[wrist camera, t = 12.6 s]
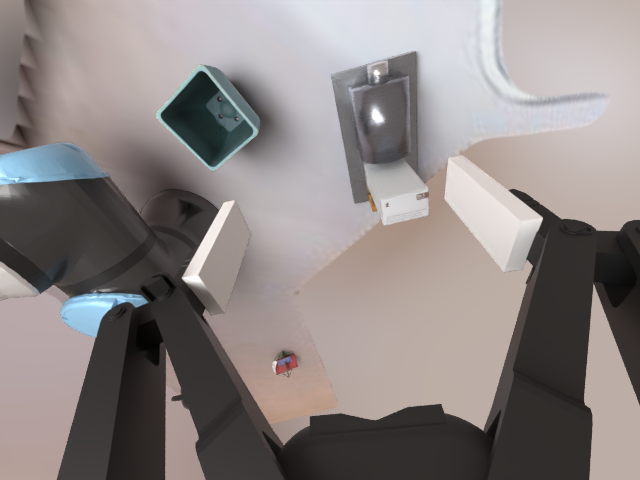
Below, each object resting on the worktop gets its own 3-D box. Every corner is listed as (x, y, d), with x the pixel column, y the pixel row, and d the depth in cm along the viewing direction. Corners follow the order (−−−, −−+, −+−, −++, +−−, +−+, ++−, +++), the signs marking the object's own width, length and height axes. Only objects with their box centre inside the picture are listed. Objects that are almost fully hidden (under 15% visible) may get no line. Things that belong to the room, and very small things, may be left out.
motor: (353, 200, 47) (359, 225, 41) (330, 72, 35) (333, 80, 28) (415, 187, 45) (431, 211, 39) (413, 48, 33) (436, 50, 27)
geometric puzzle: (301, 354, 77) (283, 376, 72) (303, 365, 81) (286, 387, 76) (284, 341, 81) (265, 362, 76) (286, 352, 85) (269, 372, 80)
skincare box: (367, 187, 43) (381, 229, 34) (363, 162, 41) (377, 200, 31) (404, 178, 42) (430, 218, 33) (403, 152, 40) (429, 188, 30)
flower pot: (184, 101, 37) (152, 115, 30) (225, 56, 34) (200, 61, 27) (230, 150, 41) (212, 173, 34) (271, 115, 38) (260, 132, 31)
